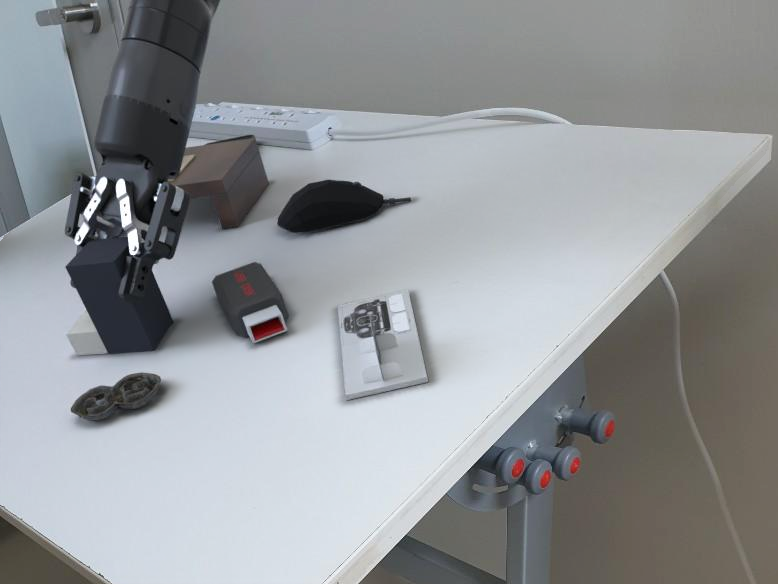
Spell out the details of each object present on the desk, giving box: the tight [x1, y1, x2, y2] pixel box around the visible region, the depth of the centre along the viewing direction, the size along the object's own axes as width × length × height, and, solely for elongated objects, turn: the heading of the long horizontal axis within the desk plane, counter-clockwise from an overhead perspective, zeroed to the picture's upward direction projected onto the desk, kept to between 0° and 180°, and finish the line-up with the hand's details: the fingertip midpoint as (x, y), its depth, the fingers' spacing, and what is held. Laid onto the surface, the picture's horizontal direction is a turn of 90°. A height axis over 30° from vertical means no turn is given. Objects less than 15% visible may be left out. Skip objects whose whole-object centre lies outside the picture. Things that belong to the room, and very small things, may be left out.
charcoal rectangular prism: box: [64, 235, 175, 356], centre depth 81 cm, size 8×5×9 cm, turn 79°
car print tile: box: [337, 289, 429, 401], centre depth 73 cm, size 15×7×4 cm, turn 6°
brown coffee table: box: [96, 137, 270, 238], centre depth 104 cm, size 18×12×6 cm, turn 79°
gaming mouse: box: [276, 179, 412, 234], centre depth 94 cm, size 6×15×4 cm, turn 93°
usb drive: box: [211, 261, 289, 344], centre depth 82 cm, size 5×12×3 cm, turn 21°
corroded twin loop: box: [70, 371, 162, 421], centre depth 75 cm, size 5×8×1 cm, turn 110°
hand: (105, 295), depth 79 cm, fingers closed on charcoal rectangular prism, 6 cm apart
